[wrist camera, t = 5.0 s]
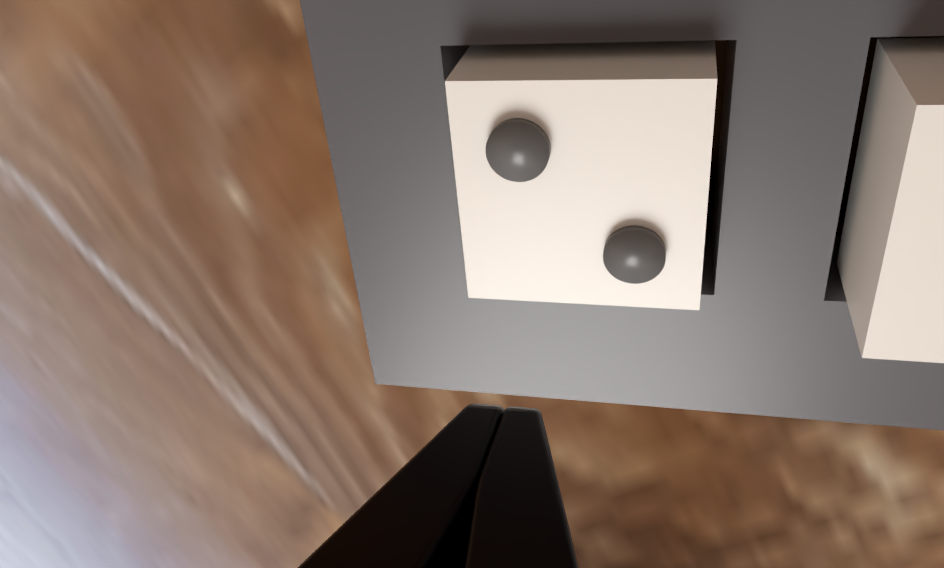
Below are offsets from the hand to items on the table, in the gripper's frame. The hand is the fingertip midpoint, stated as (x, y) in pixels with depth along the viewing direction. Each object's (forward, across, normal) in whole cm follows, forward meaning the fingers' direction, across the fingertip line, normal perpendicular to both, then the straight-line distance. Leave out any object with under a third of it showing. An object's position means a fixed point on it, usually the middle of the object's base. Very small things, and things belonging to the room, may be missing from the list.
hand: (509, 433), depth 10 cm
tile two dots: (+9, 0, 0) cm, 9 cm away
